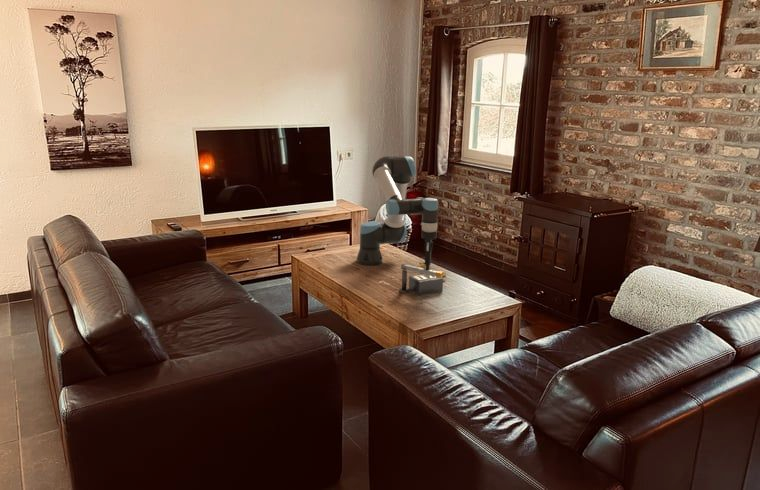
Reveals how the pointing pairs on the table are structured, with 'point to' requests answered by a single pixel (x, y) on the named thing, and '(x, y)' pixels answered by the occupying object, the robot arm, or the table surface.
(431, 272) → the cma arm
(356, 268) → the table surface
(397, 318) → the table surface
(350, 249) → the table surface
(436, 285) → the block
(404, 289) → the post
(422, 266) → the figurine
